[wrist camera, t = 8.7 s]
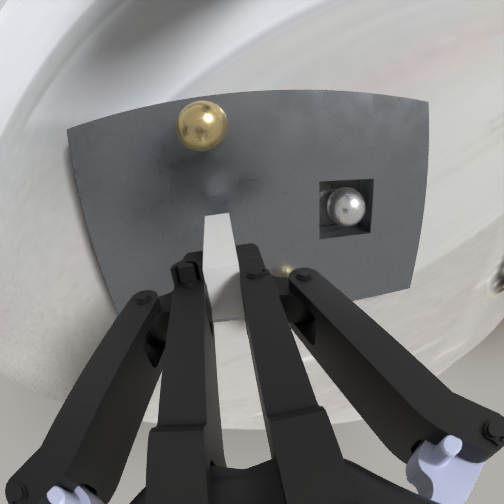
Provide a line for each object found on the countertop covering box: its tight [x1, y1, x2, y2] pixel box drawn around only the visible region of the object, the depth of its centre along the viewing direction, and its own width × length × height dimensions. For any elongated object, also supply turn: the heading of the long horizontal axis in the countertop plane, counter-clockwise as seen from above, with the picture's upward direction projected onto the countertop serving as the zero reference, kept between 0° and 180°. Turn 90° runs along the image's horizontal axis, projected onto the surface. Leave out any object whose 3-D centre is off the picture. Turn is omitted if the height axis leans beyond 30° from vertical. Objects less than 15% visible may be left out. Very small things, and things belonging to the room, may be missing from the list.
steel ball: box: [327, 187, 366, 227], centre depth 22 cm, size 3×3×3 cm
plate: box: [67, 90, 429, 322], centre depth 22 cm, size 28×18×2 cm, turn 95°
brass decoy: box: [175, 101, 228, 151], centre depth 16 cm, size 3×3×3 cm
